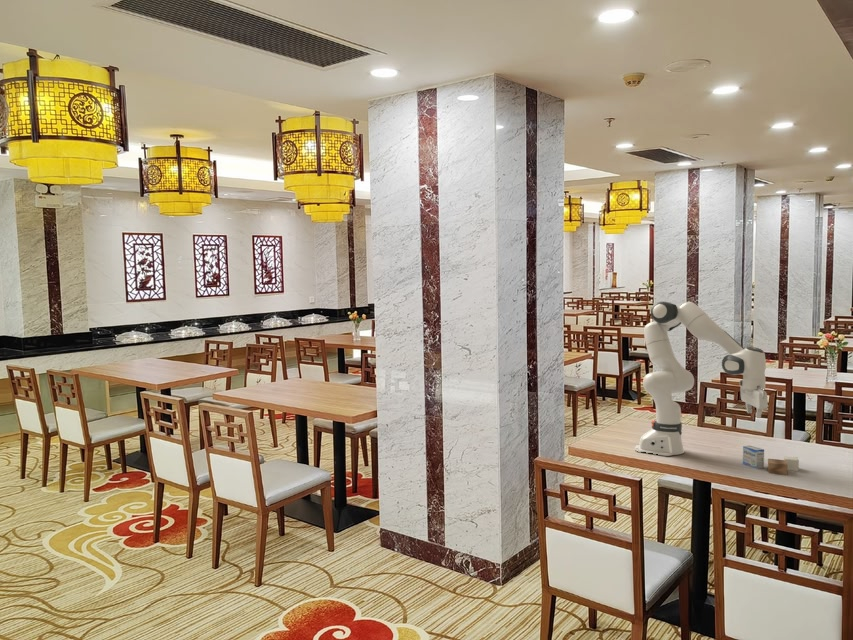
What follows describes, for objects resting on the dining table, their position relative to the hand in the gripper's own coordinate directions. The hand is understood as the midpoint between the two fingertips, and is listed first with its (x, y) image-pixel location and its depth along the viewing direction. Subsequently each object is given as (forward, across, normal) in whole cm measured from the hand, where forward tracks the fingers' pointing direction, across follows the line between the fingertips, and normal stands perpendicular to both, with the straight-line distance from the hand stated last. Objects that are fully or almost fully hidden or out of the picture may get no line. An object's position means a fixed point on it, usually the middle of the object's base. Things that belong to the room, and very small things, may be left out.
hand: (753, 415), depth 294 cm
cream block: (+23, -4, -15) cm, 28 cm away
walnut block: (+23, -9, -7) cm, 26 cm away
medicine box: (+23, 0, 0) cm, 23 cm away
